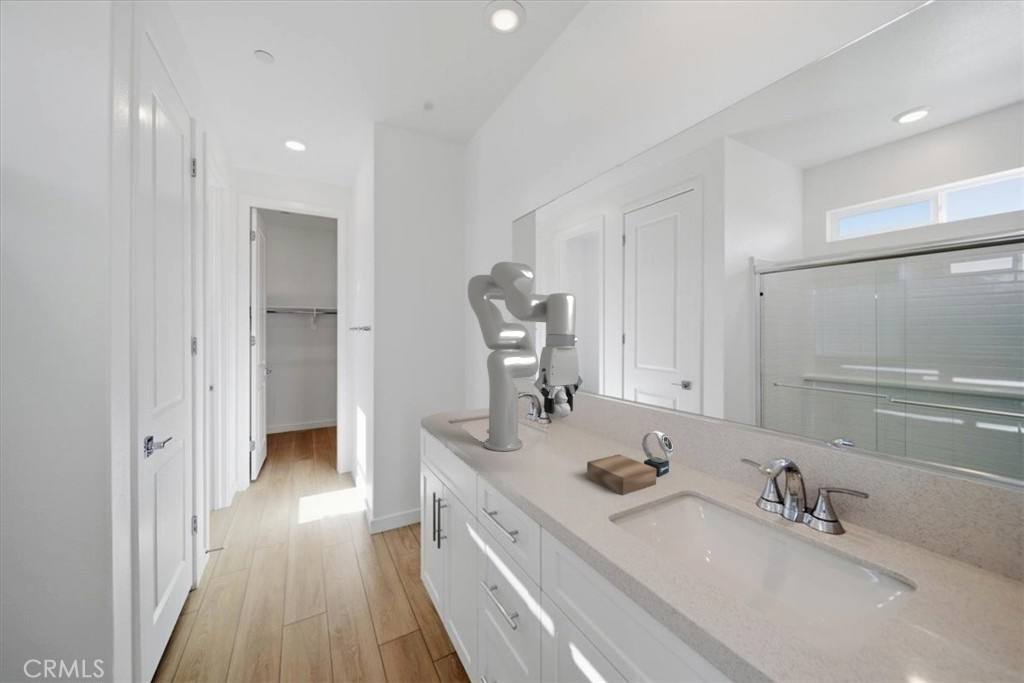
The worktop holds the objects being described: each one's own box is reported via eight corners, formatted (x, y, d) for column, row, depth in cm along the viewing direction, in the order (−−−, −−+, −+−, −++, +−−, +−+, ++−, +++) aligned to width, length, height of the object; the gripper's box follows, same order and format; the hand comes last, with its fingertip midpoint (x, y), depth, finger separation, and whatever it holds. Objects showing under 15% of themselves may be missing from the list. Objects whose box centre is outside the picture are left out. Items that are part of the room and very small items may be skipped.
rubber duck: (563, 421, 90) (564, 389, 90) (541, 416, 95) (542, 385, 94) (574, 417, 94) (575, 386, 94) (553, 413, 99) (554, 383, 98)
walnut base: (586, 476, 95) (587, 461, 95) (618, 468, 102) (619, 454, 101) (623, 495, 85) (623, 478, 85) (656, 484, 91) (656, 468, 91)
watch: (666, 479, 94) (667, 437, 94) (637, 470, 100) (638, 430, 100) (676, 474, 98) (677, 433, 98) (647, 465, 104) (649, 427, 104)
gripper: (575, 341, 101) (574, 405, 102) (524, 341, 93) (522, 412, 93) (595, 342, 95) (593, 411, 96) (541, 342, 86) (540, 418, 87)
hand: (558, 410), depth 94 cm, fingers closed on rubber duck, 5 cm apart
